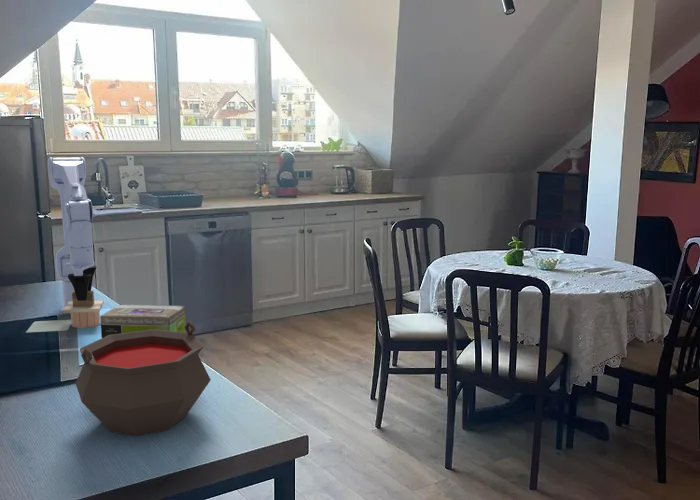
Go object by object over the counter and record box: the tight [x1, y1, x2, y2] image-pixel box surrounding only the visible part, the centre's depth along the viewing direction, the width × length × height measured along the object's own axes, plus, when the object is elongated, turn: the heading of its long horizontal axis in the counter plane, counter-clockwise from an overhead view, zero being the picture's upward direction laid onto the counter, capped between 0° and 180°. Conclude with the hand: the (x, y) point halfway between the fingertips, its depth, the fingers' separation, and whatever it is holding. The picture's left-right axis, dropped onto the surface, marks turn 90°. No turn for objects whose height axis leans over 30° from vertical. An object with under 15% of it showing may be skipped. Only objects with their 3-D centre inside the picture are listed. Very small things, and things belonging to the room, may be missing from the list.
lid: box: [62, 290, 104, 314], centre depth 176 cm, size 9×9×4 cm
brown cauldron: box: [75, 320, 211, 437], centre depth 120 cm, size 24×24×16 cm
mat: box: [25, 319, 72, 334], centre depth 175 cm, size 10×10×1 cm
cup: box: [70, 312, 101, 329], centre depth 177 cm, size 7×7×5 cm
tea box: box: [100, 304, 187, 339], centre depth 141 cm, size 15×10×15 cm
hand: (84, 296), depth 176 cm, fingers open, 7 cm apart
